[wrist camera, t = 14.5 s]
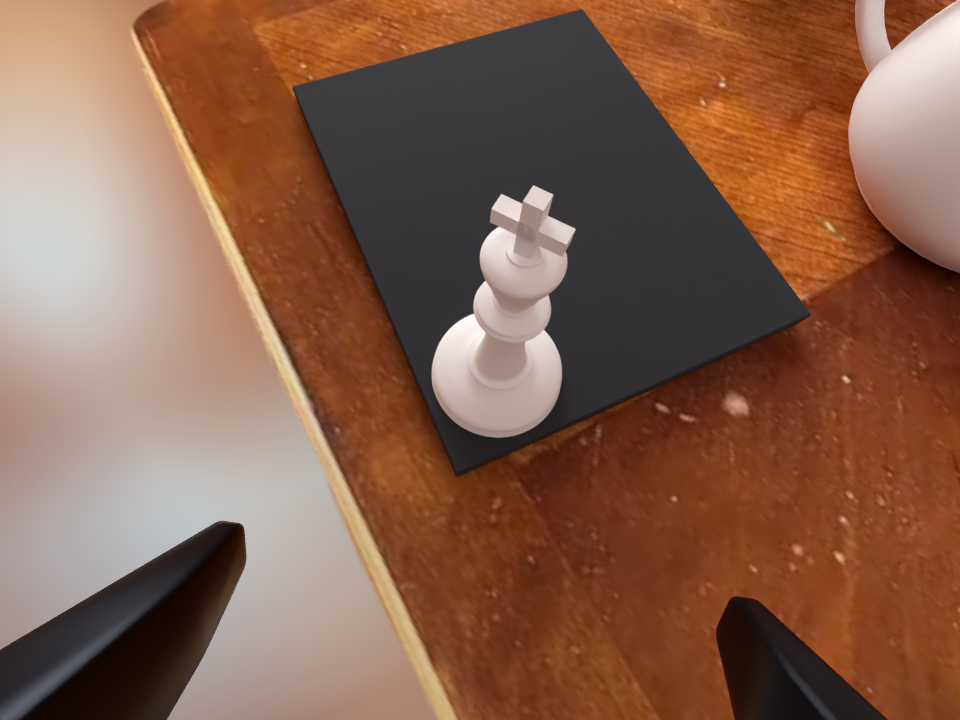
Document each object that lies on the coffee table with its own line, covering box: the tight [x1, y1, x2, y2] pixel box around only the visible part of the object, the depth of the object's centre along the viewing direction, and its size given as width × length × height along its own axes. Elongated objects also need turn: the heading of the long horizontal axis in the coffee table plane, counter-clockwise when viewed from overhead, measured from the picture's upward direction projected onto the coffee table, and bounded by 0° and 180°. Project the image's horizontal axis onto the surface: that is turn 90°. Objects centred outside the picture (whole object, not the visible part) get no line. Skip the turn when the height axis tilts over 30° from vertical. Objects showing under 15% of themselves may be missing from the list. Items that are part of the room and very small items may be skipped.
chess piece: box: [432, 185, 576, 438], centre depth 14 cm, size 5×5×10 cm
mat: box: [293, 9, 810, 476], centre depth 22 cm, size 16×20×1 cm
